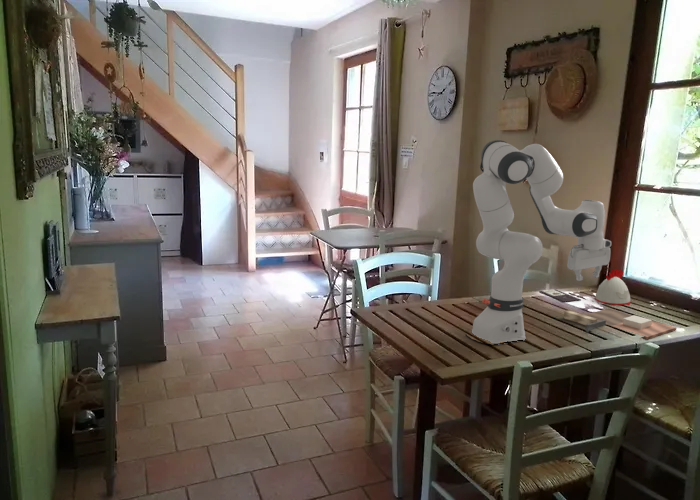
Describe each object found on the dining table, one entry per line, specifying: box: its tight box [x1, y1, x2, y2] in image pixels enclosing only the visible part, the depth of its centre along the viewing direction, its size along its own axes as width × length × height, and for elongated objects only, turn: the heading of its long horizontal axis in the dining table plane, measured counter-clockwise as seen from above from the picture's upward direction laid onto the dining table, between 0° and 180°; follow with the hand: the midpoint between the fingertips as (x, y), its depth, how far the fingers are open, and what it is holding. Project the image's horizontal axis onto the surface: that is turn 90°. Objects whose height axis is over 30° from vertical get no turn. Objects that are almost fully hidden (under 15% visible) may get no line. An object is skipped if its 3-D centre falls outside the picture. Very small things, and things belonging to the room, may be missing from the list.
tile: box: [623, 315, 653, 329], centre depth 199 cm, size 7×7×2 cm
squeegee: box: [563, 309, 607, 333], centre depth 204 cm, size 14×10×4 cm
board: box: [585, 308, 677, 340], centre depth 204 cm, size 18×28×1 cm, turn 29°
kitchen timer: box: [594, 268, 631, 306], centre depth 230 cm, size 14×14×15 cm
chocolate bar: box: [538, 288, 582, 303], centre depth 242 cm, size 9×1×18 cm
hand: (587, 278), depth 199 cm, fingers open, 8 cm apart
